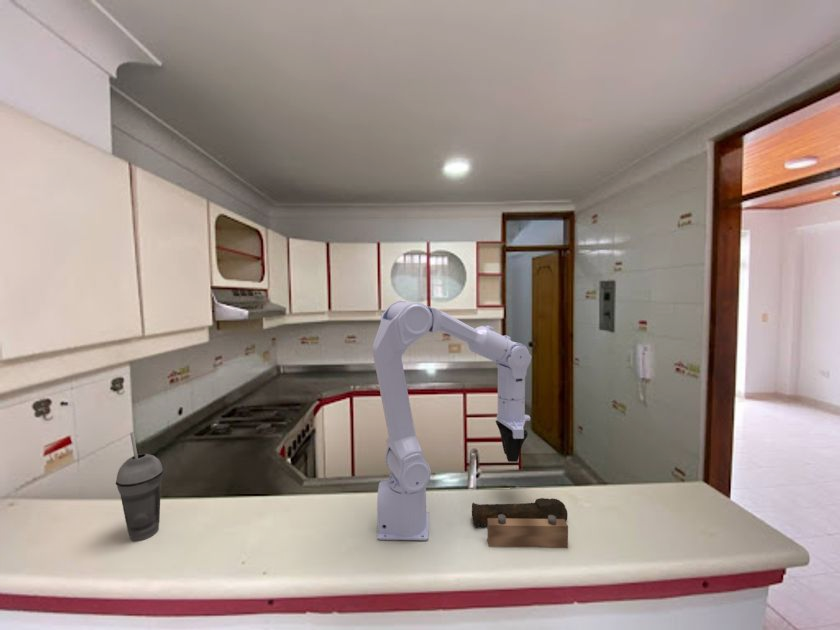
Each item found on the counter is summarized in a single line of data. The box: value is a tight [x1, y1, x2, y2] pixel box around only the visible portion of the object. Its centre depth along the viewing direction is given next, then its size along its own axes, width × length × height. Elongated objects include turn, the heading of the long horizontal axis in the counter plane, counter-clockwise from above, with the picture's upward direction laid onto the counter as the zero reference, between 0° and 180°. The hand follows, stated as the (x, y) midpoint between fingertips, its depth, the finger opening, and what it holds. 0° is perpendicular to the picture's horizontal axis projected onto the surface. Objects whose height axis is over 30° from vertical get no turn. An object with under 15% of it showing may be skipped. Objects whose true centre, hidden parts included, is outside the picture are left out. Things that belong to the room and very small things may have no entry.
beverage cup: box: [115, 432, 164, 542], centre depth 69 cm, size 7×7×20 cm
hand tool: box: [471, 497, 568, 528], centre depth 71 cm, size 19×4×5 cm, turn 89°
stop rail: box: [486, 514, 569, 549], centre depth 65 cm, size 14×2×5 cm, turn 88°
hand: (510, 457), depth 79 cm, fingers open, 3 cm apart
